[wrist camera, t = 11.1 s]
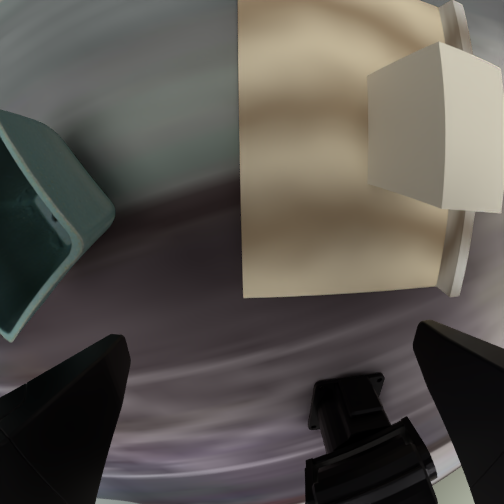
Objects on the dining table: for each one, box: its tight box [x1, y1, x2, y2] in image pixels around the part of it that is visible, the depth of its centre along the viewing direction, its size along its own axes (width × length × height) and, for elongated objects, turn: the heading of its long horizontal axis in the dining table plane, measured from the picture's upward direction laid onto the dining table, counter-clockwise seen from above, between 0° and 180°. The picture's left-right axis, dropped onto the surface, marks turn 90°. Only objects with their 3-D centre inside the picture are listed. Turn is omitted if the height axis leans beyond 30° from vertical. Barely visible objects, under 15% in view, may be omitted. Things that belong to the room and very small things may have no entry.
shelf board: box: [238, 0, 475, 298], centre depth 16 cm, size 22×16×3 cm
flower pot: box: [0, 110, 115, 342], centre depth 14 cm, size 9×9×9 cm
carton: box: [367, 41, 504, 213], centre depth 13 cm, size 4×7×8 cm, turn 0°
